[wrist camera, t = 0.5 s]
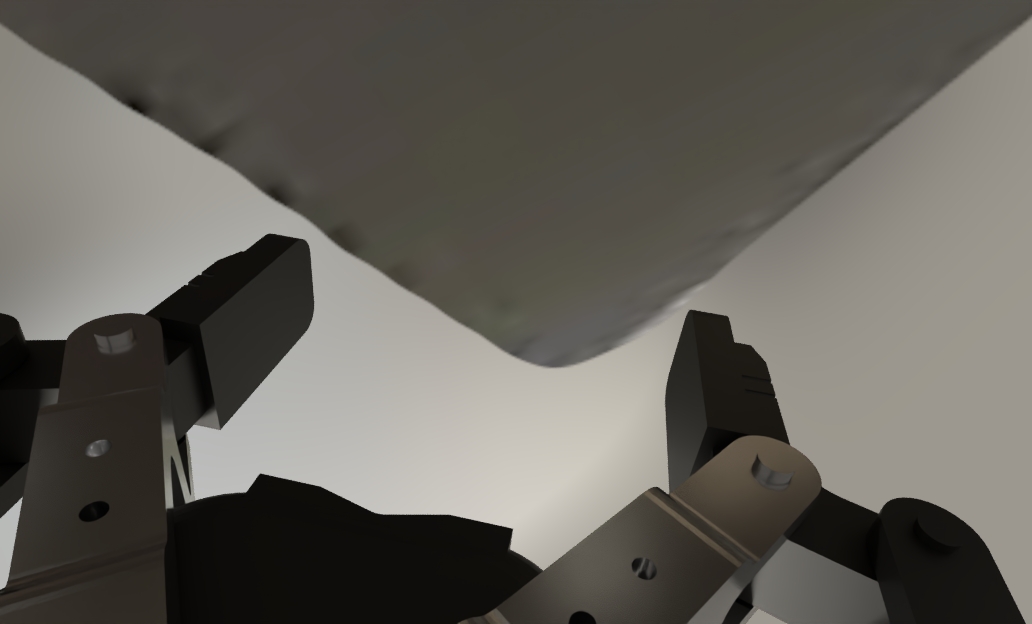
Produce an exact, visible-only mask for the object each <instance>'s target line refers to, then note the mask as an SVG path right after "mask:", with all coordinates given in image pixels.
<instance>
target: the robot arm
mask: <svg viewBox="0 0 1032 624" xmlns="http://www.w3.org/2000/svg"><path fill="white" fill-rule="evenodd" d="M313 312H314V296H313V282H312V270H311V257H310V249H309V245H308V243H307V242H306V241H305V240H303V239H298V238H293V237H287V236H282V235H276V234H267V235H265V236H264V237H263V238H261V239H260V240H259V241H257V242H256V243H255V244H254V245H252V246H251V247H250V248H249V249H247V250H246V251H244V252H242V251H241V252H239V253H236V254H233V255H231V256H228V257H226V258H223V259H220V260H218V261H217V262H215V263H214V264H212V265H211V266H210V267H208V268H207V269H206V270H204V271H203V272H202V275H198V276H196V277H195V278H194V279H192V280H191V281H189V282H188V285H184V286H183V287H181V288H180V289H179V290H177V291H176V292H175V293H173V294H172V295H171V296H169V297H168V298H167V299H165V300H164V301H163V302H161V303H160V304H159V305H157V306H156V307H155V308H153V309H152V310H150V311H149V312H148V313H146V314H145V315H142V314H135V313H124V314H115V315H109V316H105V317H101V318H98V319H95V320H92V321H90V322H87V323H85V324H84V325H82V326H80V327H78V328H77V329H76V330H74V331H73V332H72V333H71V334H70V335H69V337H68V338H67V340H25V337H24V335H23V332H22V330H21V327H20V324H19V322H18V321H17V319H15V318H14V317H12V316H9V315H6V314H2V313H0V518H1V517H2V516H3V515H4V514H5V513H6V512H7V511H8V510H9V509H10V508H11V507H13V506H14V504H16V503H17V502H18V501H19V499H21V498H22V497H23V499H22V506H21V511H20V517H19V522H18V527H17V533H16V539H15V544H14V550H13V556H12V561H11V567H10V573H9V578H8V582H7V585H6V587H5V588H3V589H1V590H0V624H746V623H747V621H748V620H749V619H750V618H751V616H752V615H753V614H754V613H755V612H756V611H757V609H758V608H759V609H761V610H763V611H764V612H766V613H768V614H770V615H772V616H774V617H776V618H778V619H780V620H782V621H784V622H786V623H788V624H1026V623H1025V621H1024V619H1023V617H1022V615H1021V613H1020V611H1019V609H1018V607H1017V605H1016V603H1015V601H1014V599H1013V597H1012V595H1011V593H1010V591H1009V590H1008V587H1007V585H1006V583H1005V581H1004V579H1003V577H1002V575H1001V573H1000V571H999V569H998V567H997V565H996V563H995V561H994V559H993V557H992V555H991V553H990V551H989V549H988V548H987V546H986V544H985V543H984V541H983V540H982V539H981V538H980V536H979V535H978V534H977V533H976V532H975V531H974V530H973V529H972V528H971V527H970V526H968V525H967V524H966V523H965V522H964V521H962V520H961V519H960V518H958V517H957V516H955V515H954V514H952V513H950V512H949V511H947V510H945V509H943V508H941V507H939V506H937V505H934V504H932V503H929V502H926V501H923V500H919V499H914V498H896V499H892V500H890V501H889V502H887V503H886V504H885V505H884V506H883V508H882V509H881V511H880V513H879V514H878V513H875V512H873V511H871V510H869V509H866V508H864V507H862V506H859V505H857V504H855V503H852V502H850V501H848V500H846V499H843V498H841V497H839V496H837V495H835V494H833V493H831V492H829V491H828V490H826V489H824V488H823V487H822V485H821V484H822V483H821V478H820V475H819V473H818V471H817V469H816V467H815V466H814V465H813V463H812V462H811V461H810V460H809V459H808V458H807V457H806V456H805V455H803V454H802V453H801V452H799V451H798V450H797V449H795V448H793V447H792V446H790V443H789V440H788V436H787V433H786V430H785V426H784V423H783V419H782V416H781V413H780V409H779V406H778V402H777V399H776V398H775V392H774V388H773V385H772V384H771V378H770V374H769V371H768V368H767V364H766V362H765V361H764V360H763V359H762V358H761V356H760V355H759V354H758V353H757V352H756V351H755V350H754V348H753V347H752V346H751V345H746V344H741V343H735V342H734V339H733V335H732V330H731V325H730V321H729V318H728V316H724V315H718V314H713V313H707V312H701V311H696V310H689V312H688V314H687V316H686V318H685V322H684V325H683V328H682V332H681V335H680V338H679V342H678V345H677V348H676V352H675V355H674V359H673V362H672V366H671V369H670V372H669V376H668V381H667V387H666V395H665V407H666V430H667V451H668V473H669V494H666V493H665V492H664V491H663V490H661V489H660V488H658V487H653V488H650V489H648V490H647V491H645V492H644V493H643V494H641V495H640V496H639V497H637V498H636V499H635V500H634V501H633V502H631V503H630V504H628V505H627V506H626V507H625V508H623V509H622V510H621V511H619V512H618V513H617V514H616V515H615V516H613V517H612V518H610V519H609V520H608V521H607V522H605V523H604V524H603V525H602V526H600V527H599V528H598V529H597V530H595V531H594V532H593V533H591V534H590V535H589V536H587V537H586V538H585V539H584V540H583V541H581V542H580V543H579V544H577V545H576V546H575V547H573V548H572V549H571V550H570V551H568V552H567V553H566V554H565V555H563V556H562V557H561V558H559V559H558V560H557V561H556V562H554V563H553V564H552V565H550V566H549V567H548V568H546V569H545V570H544V571H543V570H542V569H540V568H539V567H538V566H537V565H535V564H534V563H533V562H531V561H529V560H528V559H526V558H525V557H523V556H522V555H520V554H518V553H516V552H514V551H512V550H510V545H511V538H512V531H513V529H511V528H507V527H502V526H498V525H493V524H489V523H484V522H480V521H475V520H471V519H466V518H461V517H457V516H452V515H383V514H377V513H374V512H371V511H369V510H367V509H365V508H363V507H361V506H359V505H357V504H354V503H353V502H351V501H349V500H346V499H345V498H342V497H340V496H338V495H336V494H334V493H332V492H330V491H328V490H326V489H324V488H322V487H319V486H315V485H310V484H306V483H301V482H297V481H292V480H288V479H283V478H278V477H274V476H269V475H264V474H260V475H259V476H258V477H257V478H256V480H255V481H254V483H253V484H252V486H251V487H250V488H249V490H248V491H247V492H246V493H233V494H232V493H231V494H222V495H217V496H212V497H207V498H203V499H199V500H196V501H195V496H194V487H193V477H192V467H191V457H190V446H189V441H188V437H187V432H188V430H189V429H190V428H191V427H192V426H193V425H199V426H204V427H209V428H214V429H218V430H221V428H222V427H223V426H224V425H225V424H226V423H227V422H228V421H229V419H230V418H231V417H232V416H233V415H234V414H235V413H236V411H237V410H238V409H239V408H240V407H241V406H242V404H243V403H244V402H245V401H246V400H247V399H248V398H249V396H250V395H251V394H252V393H253V392H254V391H255V389H256V388H257V387H258V386H259V385H260V383H262V381H263V380H264V379H265V378H266V377H267V376H268V375H269V374H270V372H271V371H272V370H273V369H274V368H275V366H276V365H277V364H278V363H279V362H280V361H281V360H282V358H283V357H284V356H285V355H286V354H287V353H288V352H289V350H290V349H291V348H292V347H293V346H294V345H295V344H296V342H297V341H298V340H299V339H300V338H301V337H302V336H303V334H304V333H305V332H306V331H307V329H308V328H309V325H310V323H311V320H312V317H313Z"/></svg>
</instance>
